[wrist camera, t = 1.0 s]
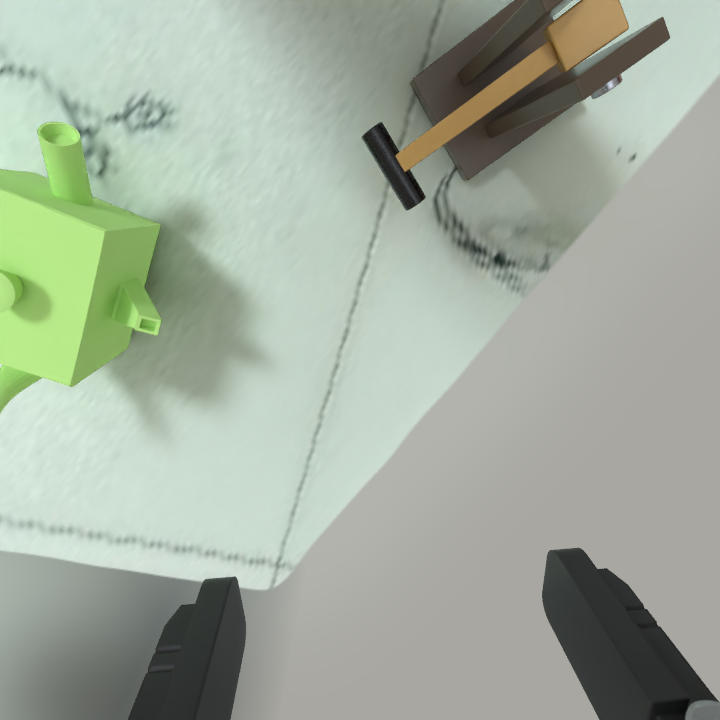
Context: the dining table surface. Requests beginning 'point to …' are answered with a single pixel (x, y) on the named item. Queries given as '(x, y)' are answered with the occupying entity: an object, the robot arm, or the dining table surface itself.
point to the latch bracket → (536, 100)
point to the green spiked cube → (67, 271)
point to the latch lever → (501, 90)
